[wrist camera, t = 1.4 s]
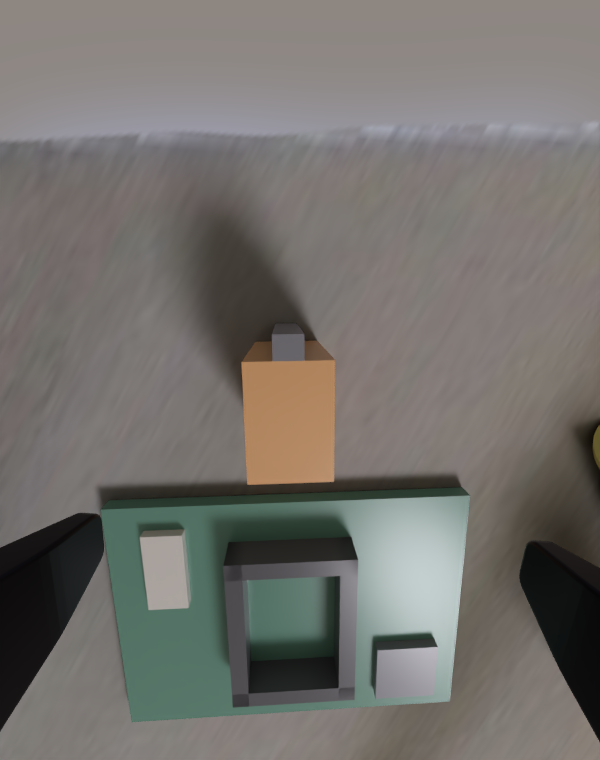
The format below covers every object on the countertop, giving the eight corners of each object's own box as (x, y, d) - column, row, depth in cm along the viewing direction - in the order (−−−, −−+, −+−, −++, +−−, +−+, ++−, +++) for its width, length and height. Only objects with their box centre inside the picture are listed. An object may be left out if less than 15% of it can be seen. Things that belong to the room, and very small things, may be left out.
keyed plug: (258, 425, 21) (247, 485, 14) (254, 323, 20) (240, 334, 13) (317, 424, 21) (333, 481, 14) (317, 322, 20) (335, 333, 13)
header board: (137, 705, 25) (118, 759, 22) (108, 500, 22) (81, 531, 19) (443, 686, 26) (463, 735, 23) (462, 487, 23) (488, 514, 20)
